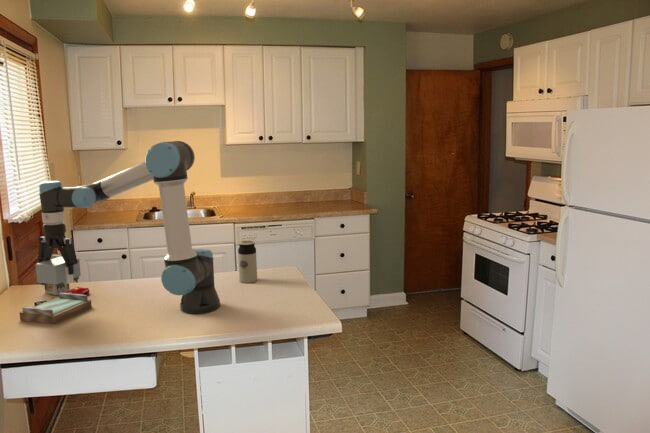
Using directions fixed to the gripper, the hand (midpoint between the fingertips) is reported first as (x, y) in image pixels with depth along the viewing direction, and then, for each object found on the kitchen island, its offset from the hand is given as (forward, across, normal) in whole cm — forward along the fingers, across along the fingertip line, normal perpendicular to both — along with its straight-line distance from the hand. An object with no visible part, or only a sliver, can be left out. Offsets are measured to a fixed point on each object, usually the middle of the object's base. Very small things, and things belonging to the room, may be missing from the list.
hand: (59, 281), depth 208 cm
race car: (+14, -11, +18) cm, 25 cm away
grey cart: (0, 0, 0) cm, 0 cm away
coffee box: (+13, -24, +22) cm, 35 cm away
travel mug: (+13, +49, +59) cm, 78 cm away
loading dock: (+13, -3, 0) cm, 13 cm away
